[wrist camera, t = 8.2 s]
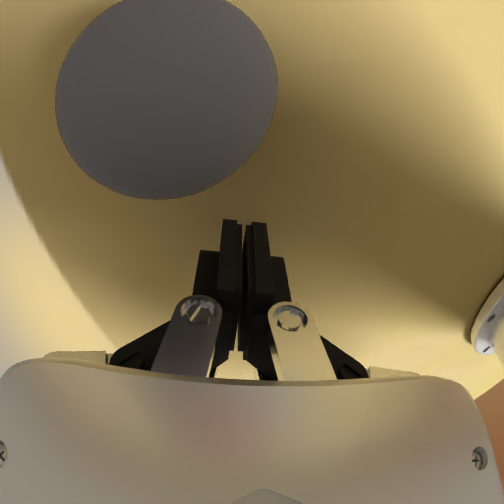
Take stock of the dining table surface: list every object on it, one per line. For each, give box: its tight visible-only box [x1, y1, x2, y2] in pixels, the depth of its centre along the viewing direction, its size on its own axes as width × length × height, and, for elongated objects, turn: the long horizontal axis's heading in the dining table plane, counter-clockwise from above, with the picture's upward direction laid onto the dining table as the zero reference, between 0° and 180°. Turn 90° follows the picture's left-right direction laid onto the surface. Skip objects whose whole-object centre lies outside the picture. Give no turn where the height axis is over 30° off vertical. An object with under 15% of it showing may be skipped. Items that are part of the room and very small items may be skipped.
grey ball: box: [55, 0, 277, 200], centre depth 7 cm, size 6×6×6 cm
